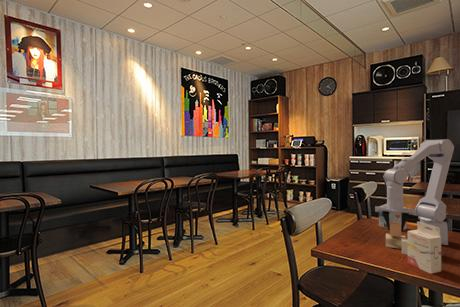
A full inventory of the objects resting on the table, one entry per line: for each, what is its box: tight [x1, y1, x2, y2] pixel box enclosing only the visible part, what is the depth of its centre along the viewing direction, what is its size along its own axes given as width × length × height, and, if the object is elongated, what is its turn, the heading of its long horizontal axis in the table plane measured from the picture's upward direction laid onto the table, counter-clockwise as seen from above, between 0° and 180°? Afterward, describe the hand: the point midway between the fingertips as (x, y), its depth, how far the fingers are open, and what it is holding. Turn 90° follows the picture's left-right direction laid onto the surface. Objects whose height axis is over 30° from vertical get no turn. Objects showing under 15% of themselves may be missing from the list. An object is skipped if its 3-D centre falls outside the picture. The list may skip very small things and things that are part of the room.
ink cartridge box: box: [407, 221, 442, 274], centre depth 91 cm, size 9×5×15 cm, turn 17°
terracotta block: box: [389, 221, 402, 237], centre depth 111 cm, size 4×4×5 cm
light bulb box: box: [378, 203, 408, 231], centre depth 134 cm, size 11×7×11 cm, turn 37°
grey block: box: [401, 237, 408, 256], centre depth 103 cm, size 4×4×5 cm
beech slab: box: [385, 233, 407, 250], centre depth 111 cm, size 7×7×4 cm
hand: (395, 230), depth 111 cm, fingers closed on terracotta block, 4 cm apart
